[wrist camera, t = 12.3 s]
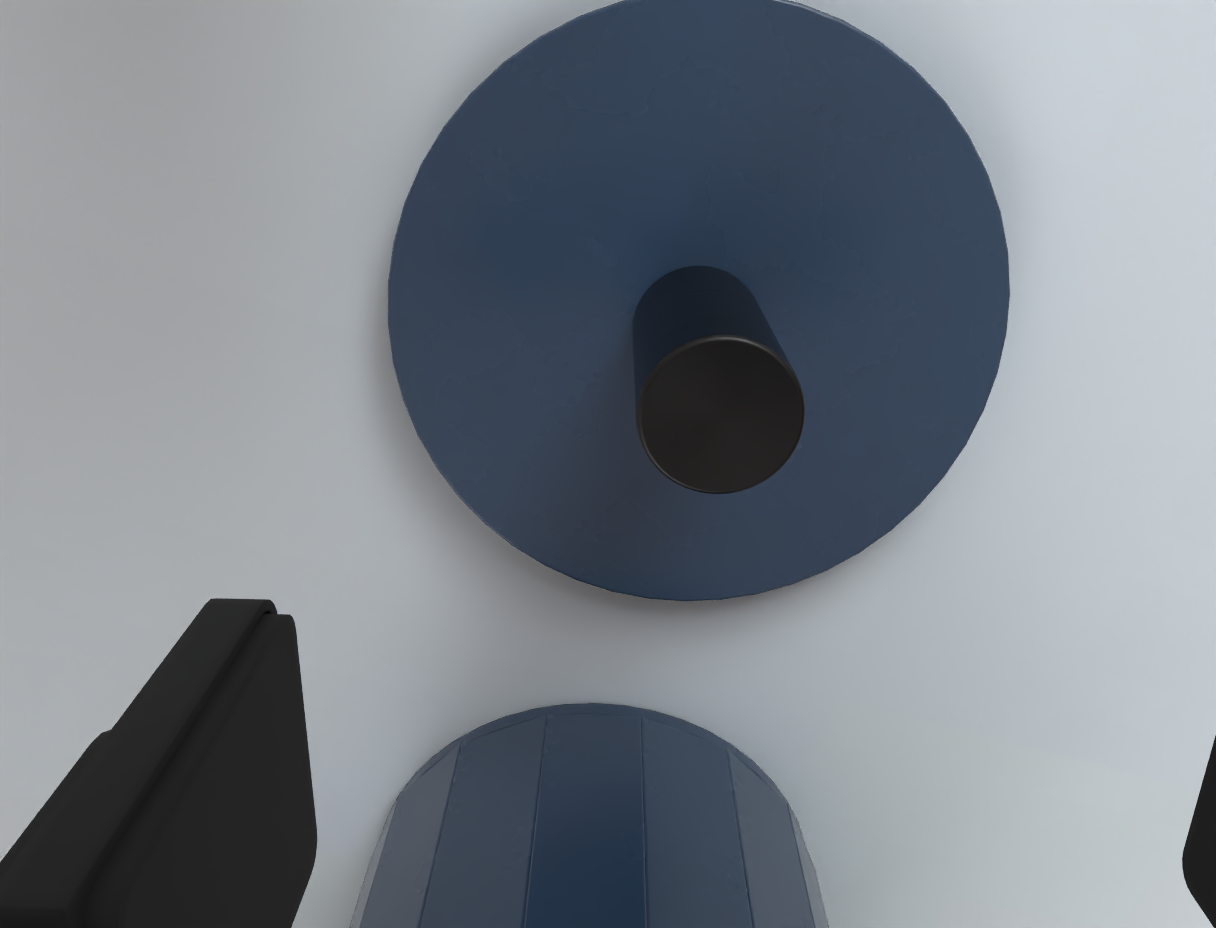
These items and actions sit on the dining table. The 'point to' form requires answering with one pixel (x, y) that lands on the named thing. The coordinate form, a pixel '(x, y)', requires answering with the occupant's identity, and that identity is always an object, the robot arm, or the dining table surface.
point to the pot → (590, 831)
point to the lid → (698, 296)
